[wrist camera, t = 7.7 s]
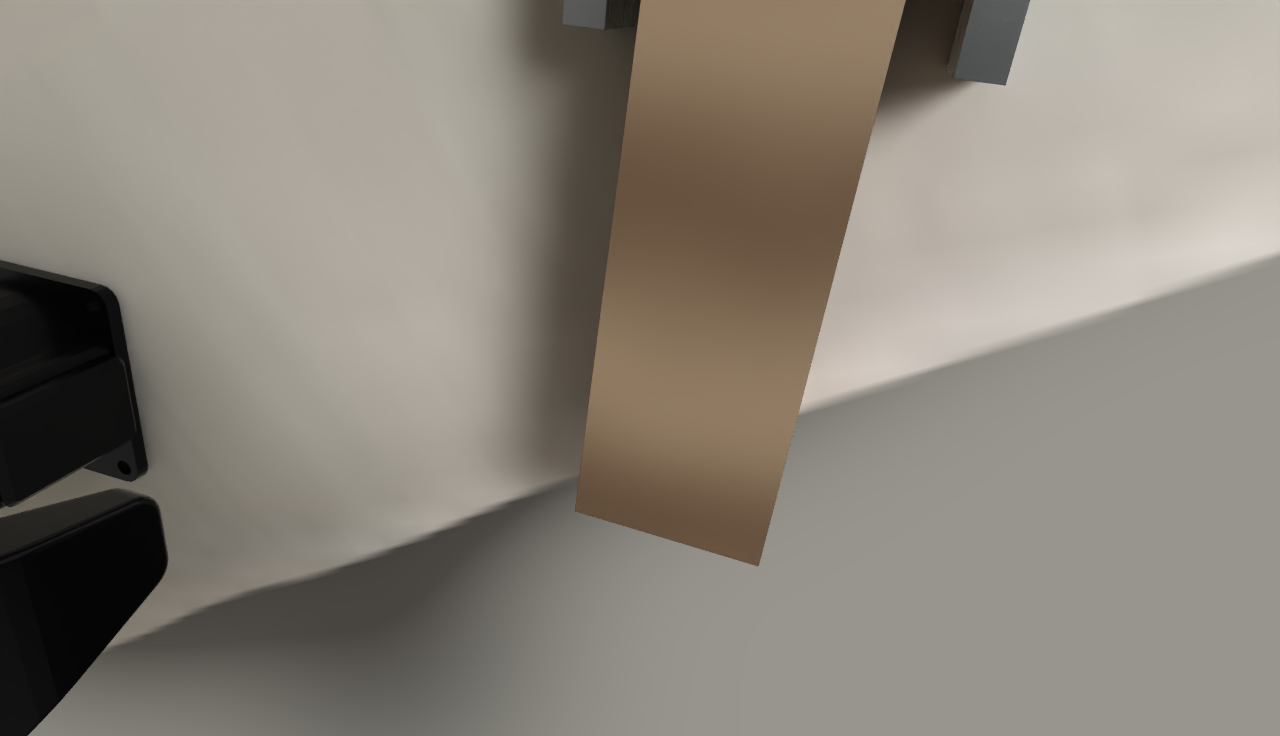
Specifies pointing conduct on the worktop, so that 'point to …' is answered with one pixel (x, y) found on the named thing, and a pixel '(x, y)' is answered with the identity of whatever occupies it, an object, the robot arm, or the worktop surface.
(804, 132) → the block
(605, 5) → the bracket
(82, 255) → the worktop surface
